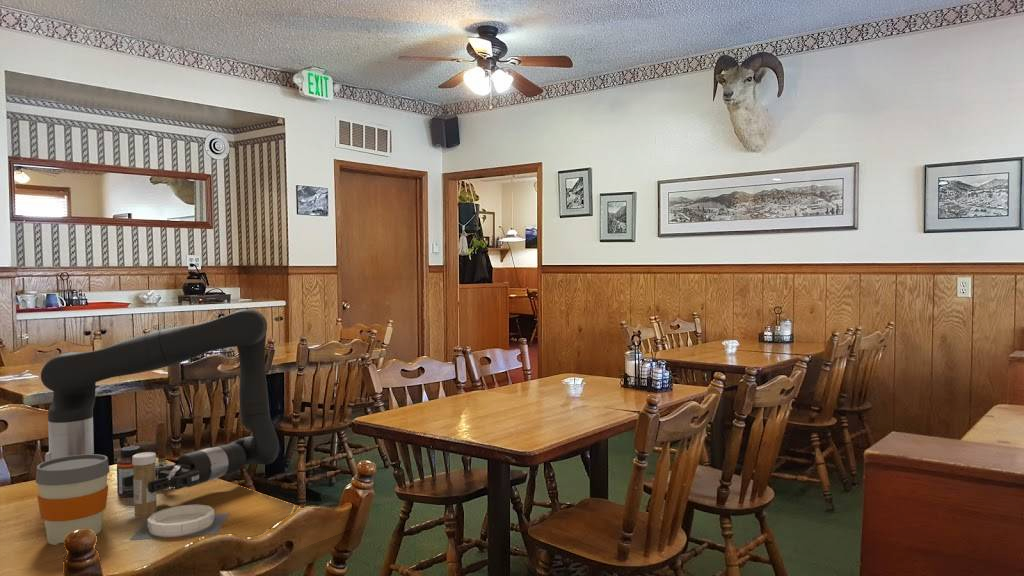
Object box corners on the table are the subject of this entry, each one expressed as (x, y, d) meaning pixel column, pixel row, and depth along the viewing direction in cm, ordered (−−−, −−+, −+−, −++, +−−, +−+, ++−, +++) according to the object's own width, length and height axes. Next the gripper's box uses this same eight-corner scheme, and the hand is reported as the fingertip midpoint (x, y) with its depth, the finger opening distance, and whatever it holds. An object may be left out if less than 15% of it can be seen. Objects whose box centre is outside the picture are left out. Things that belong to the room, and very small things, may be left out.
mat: (129, 543, 136) (129, 540, 136) (149, 521, 147) (149, 518, 147) (216, 536, 139) (216, 533, 138) (229, 516, 150) (229, 513, 150)
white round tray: (140, 539, 136) (139, 527, 136) (159, 518, 148) (159, 506, 148) (205, 534, 138) (205, 522, 138) (219, 514, 150) (219, 502, 150)
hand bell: (186, 485, 173) (185, 421, 172) (151, 493, 166) (150, 427, 166) (172, 479, 178) (170, 417, 178) (137, 487, 172) (136, 422, 171)
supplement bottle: (124, 491, 168) (123, 444, 168) (150, 490, 168) (149, 444, 168) (112, 499, 162) (111, 451, 162) (139, 498, 163) (138, 450, 162)
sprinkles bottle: (158, 516, 150) (157, 454, 150) (134, 521, 148) (133, 458, 148) (155, 510, 154) (154, 450, 154) (132, 514, 152) (131, 453, 151)
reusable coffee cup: (32, 553, 131) (30, 474, 131) (41, 532, 142) (39, 458, 142) (109, 541, 137) (107, 465, 136) (112, 521, 148) (110, 451, 147)
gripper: (182, 446, 167) (115, 463, 152) (222, 453, 160) (157, 472, 146) (182, 477, 167) (116, 497, 153) (223, 486, 160) (158, 507, 146)
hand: (136, 485), depth 149 cm, fingers open, 8 cm apart
